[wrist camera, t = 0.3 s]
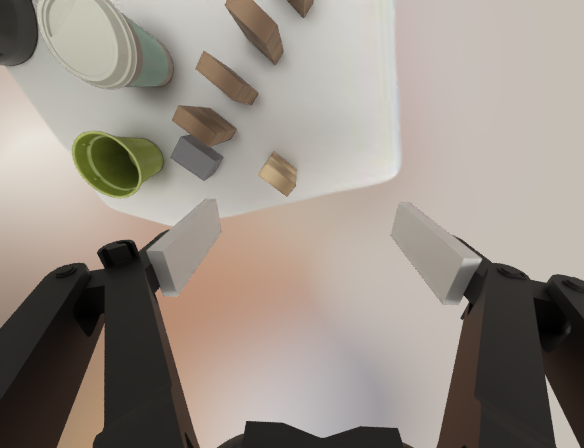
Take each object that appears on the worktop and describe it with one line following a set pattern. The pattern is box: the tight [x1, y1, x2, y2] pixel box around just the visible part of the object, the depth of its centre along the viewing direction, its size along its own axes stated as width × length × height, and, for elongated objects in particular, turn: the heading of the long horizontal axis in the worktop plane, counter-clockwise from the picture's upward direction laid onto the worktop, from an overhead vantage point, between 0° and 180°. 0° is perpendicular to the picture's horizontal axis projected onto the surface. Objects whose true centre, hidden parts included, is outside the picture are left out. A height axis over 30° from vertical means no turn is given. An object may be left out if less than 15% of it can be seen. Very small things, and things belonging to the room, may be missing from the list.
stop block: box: [170, 135, 223, 181], centre depth 35 cm, size 6×4×4 cm, turn 52°
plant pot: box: [72, 131, 163, 198], centre depth 34 cm, size 9×9×9 cm
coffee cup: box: [37, 0, 173, 90], centre depth 26 cm, size 8×8×12 cm
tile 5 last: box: [172, 106, 237, 147], centre depth 30 cm, size 5×2×10 cm, turn 52°
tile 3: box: [225, 0, 284, 65], centre depth 25 cm, size 5×2×10 cm, turn 52°
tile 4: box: [195, 51, 258, 105], centre depth 28 cm, size 5×2×10 cm, turn 52°
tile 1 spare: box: [258, 152, 296, 197], centre depth 33 cm, size 5×2×10 cm, turn 52°
